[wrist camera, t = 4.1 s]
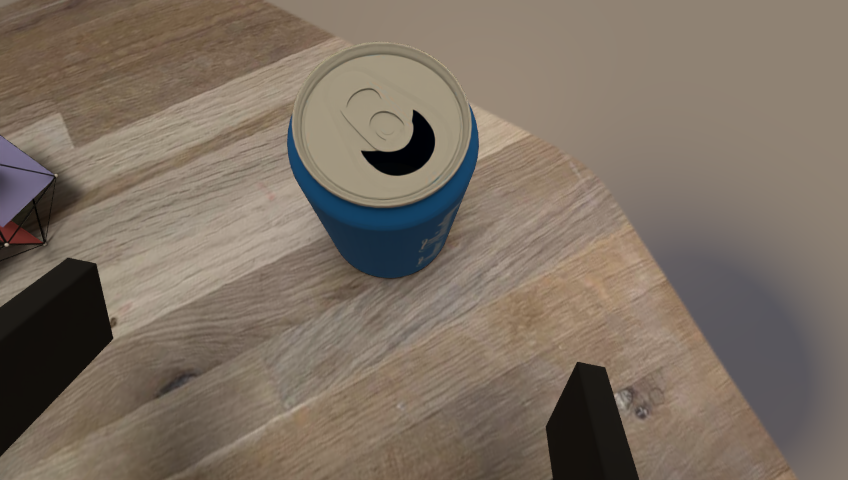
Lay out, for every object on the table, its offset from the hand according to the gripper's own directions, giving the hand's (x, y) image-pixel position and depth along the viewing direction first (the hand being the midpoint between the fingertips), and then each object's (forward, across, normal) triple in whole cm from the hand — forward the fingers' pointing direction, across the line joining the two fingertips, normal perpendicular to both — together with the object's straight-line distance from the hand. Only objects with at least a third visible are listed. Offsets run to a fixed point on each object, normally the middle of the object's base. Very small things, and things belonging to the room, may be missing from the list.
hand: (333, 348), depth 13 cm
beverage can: (+14, 0, -4) cm, 14 cm away
